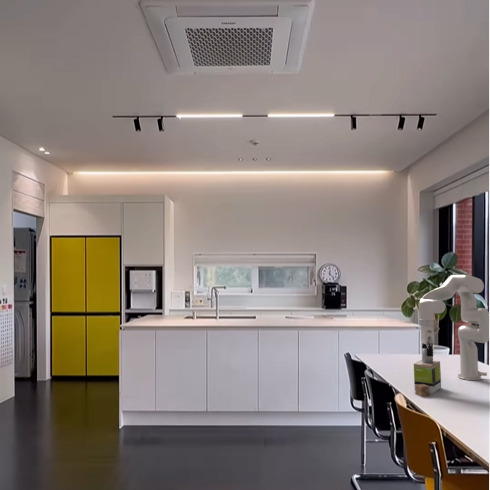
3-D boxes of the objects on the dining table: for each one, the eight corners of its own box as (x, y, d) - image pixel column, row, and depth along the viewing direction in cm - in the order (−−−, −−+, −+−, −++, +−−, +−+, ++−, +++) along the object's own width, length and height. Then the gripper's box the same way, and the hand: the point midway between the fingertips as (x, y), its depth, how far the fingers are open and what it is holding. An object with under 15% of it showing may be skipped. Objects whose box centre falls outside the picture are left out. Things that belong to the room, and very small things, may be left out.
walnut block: (423, 393, 243) (423, 384, 243) (429, 396, 238) (429, 386, 238) (415, 394, 241) (415, 384, 242) (421, 396, 237) (420, 386, 237)
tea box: (423, 385, 260) (422, 358, 261) (441, 388, 253) (441, 361, 254) (413, 390, 248) (413, 363, 249) (433, 393, 242) (432, 365, 243)
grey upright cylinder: (431, 361, 254) (431, 348, 255) (434, 363, 249) (434, 350, 249) (420, 360, 255) (420, 348, 255) (423, 362, 249) (423, 349, 250)
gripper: (438, 325, 244) (439, 357, 243) (429, 321, 261) (430, 351, 260) (423, 325, 245) (424, 357, 244) (415, 321, 262) (416, 351, 261)
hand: (427, 354), depth 252 cm, fingers open, 9 cm apart
